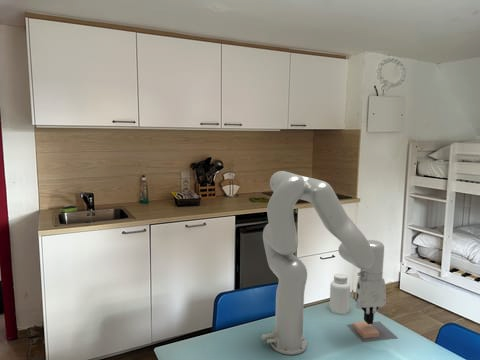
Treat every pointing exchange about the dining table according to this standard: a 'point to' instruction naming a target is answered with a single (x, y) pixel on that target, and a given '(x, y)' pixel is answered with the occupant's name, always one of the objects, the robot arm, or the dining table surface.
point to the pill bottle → (340, 294)
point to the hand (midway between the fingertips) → (368, 322)
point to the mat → (383, 331)
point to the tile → (365, 329)
